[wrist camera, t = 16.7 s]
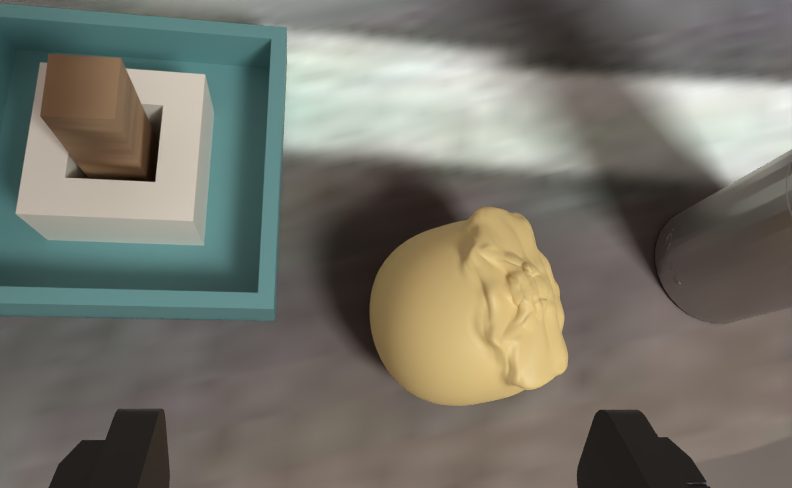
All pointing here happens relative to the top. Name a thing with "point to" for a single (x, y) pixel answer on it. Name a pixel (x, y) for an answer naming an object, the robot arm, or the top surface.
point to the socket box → (137, 200)
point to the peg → (99, 117)
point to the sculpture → (469, 311)
